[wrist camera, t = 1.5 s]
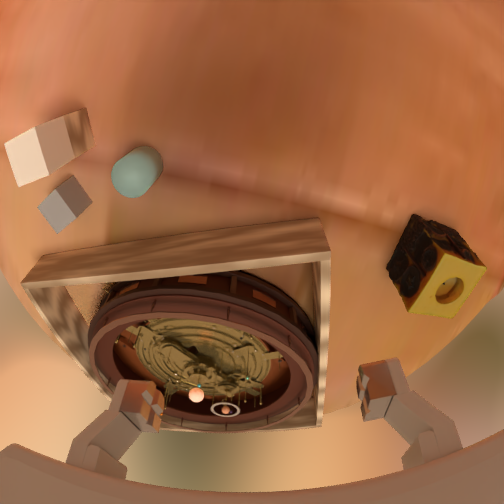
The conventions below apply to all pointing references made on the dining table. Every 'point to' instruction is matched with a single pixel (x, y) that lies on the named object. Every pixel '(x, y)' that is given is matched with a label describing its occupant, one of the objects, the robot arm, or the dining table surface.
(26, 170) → the cream white cube
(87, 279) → the orrery frame
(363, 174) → the dining table surface
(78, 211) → the slate block
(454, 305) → the yellow dark brown cube
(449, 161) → the dining table surface
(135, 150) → the sage green cylinder
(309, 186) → the dining table surface
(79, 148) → the tower base
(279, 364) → the planetary model
